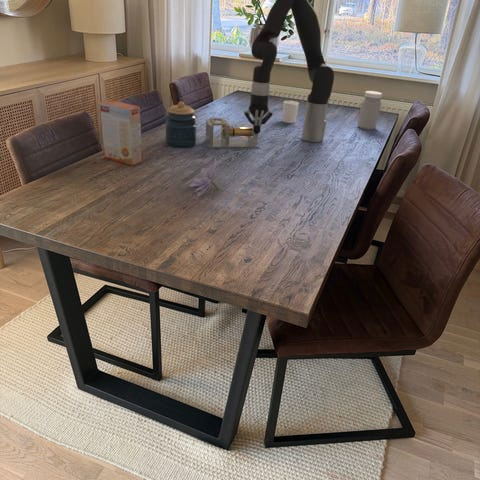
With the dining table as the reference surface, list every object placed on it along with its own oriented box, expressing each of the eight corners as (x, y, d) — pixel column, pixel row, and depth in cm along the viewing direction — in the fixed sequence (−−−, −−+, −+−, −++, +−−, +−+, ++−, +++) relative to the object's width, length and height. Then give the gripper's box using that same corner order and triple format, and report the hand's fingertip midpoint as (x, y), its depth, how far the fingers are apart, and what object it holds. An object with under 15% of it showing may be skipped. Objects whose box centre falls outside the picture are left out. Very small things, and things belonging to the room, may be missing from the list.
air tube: (250, 135, 195) (250, 125, 193) (252, 138, 191) (253, 128, 189) (221, 135, 192) (221, 125, 189) (223, 138, 188) (223, 128, 186)
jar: (373, 125, 237) (381, 91, 228) (377, 131, 228) (385, 95, 219) (355, 124, 237) (362, 89, 228) (358, 129, 229) (365, 93, 220)
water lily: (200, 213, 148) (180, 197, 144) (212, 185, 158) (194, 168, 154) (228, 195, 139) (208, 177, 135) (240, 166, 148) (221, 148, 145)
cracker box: (143, 162, 166) (140, 106, 156) (132, 166, 162) (128, 109, 151) (115, 153, 172) (111, 99, 161) (104, 157, 167) (99, 101, 157)
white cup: (296, 124, 228) (299, 104, 223) (281, 123, 228) (284, 103, 223) (295, 120, 235) (298, 101, 230) (280, 119, 235) (283, 99, 230)
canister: (190, 150, 182) (191, 107, 173) (161, 146, 184) (160, 103, 175) (199, 141, 193) (200, 100, 184) (171, 137, 195) (171, 96, 186)
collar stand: (252, 140, 200) (254, 117, 195) (258, 148, 191) (261, 124, 186) (204, 140, 194) (205, 117, 189) (208, 148, 185) (209, 124, 180)
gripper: (272, 91, 189) (268, 131, 197) (242, 90, 185) (239, 130, 194) (277, 95, 182) (273, 136, 191) (247, 94, 179) (243, 136, 188)
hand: (256, 133), depth 193 cm, fingers closed
